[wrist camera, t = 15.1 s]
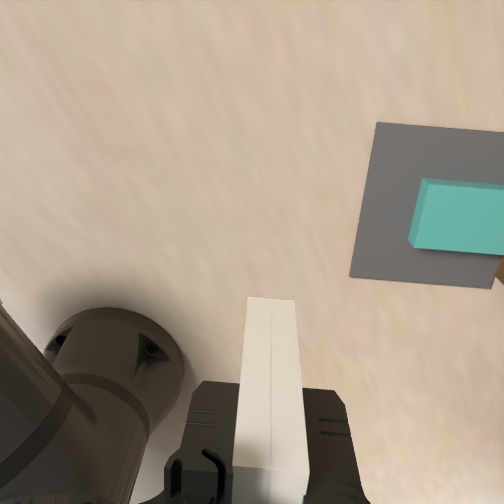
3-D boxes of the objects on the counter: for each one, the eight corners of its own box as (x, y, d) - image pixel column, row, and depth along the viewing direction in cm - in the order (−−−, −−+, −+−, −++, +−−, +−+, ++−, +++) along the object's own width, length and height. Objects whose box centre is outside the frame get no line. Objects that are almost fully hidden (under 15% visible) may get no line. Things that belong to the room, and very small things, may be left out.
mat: (488, 287, 46) (490, 288, 45) (349, 275, 46) (349, 277, 45) (538, 135, 40) (539, 135, 39) (376, 122, 40) (377, 122, 39)
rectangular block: (502, 247, 44) (512, 255, 42) (408, 239, 44) (413, 247, 42) (522, 186, 41) (533, 192, 39) (422, 178, 41) (429, 184, 39)
